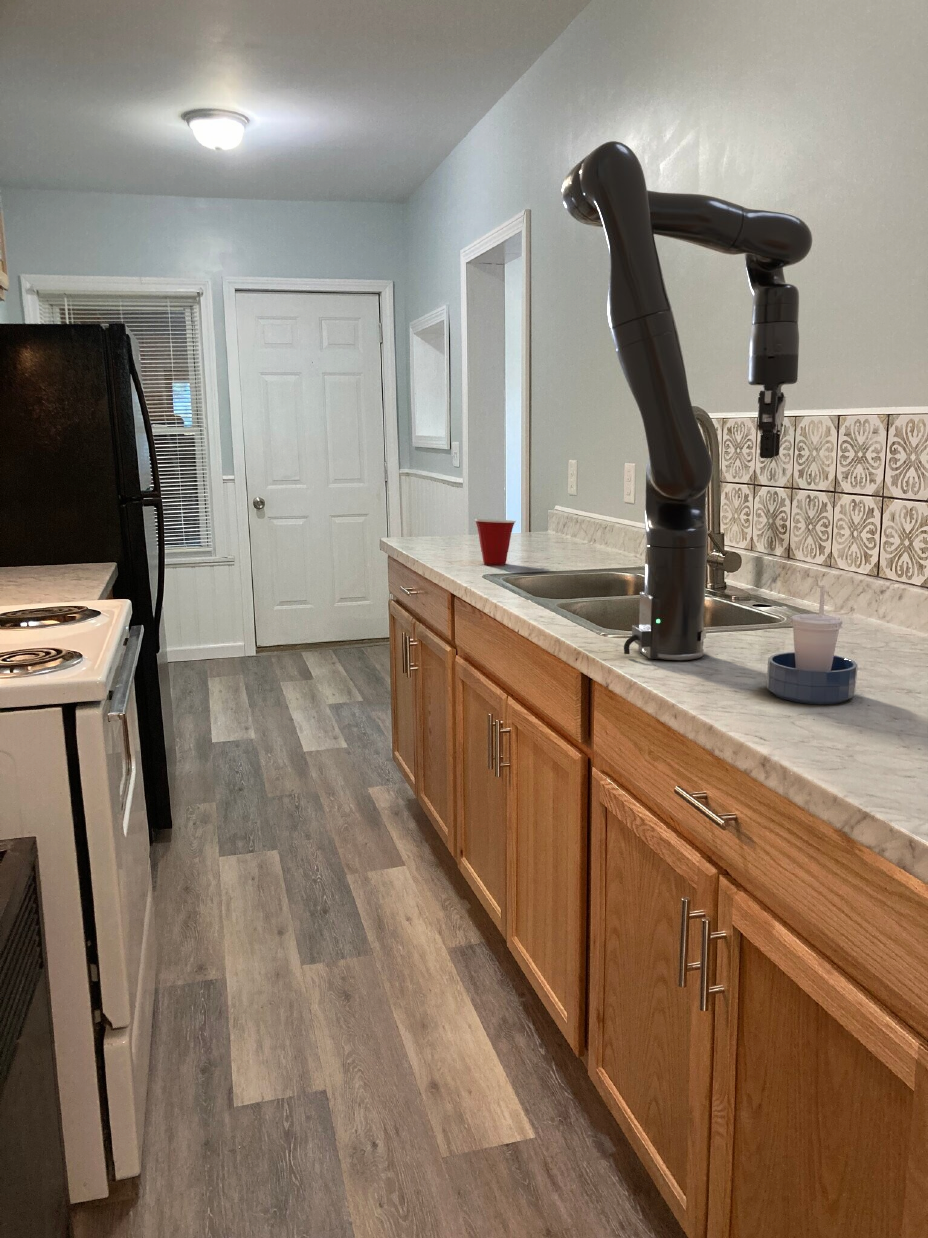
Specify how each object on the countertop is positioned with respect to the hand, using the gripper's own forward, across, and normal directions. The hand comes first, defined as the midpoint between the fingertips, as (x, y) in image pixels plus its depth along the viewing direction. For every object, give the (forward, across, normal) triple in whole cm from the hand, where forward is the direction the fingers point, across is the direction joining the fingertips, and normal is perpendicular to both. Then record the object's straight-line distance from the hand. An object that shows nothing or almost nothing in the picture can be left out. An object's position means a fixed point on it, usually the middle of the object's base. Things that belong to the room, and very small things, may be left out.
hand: (769, 457), depth 156 cm
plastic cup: (+29, -69, -74) cm, 106 cm away
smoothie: (+30, +34, +10) cm, 46 cm away
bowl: (+30, +34, +9) cm, 46 cm away
